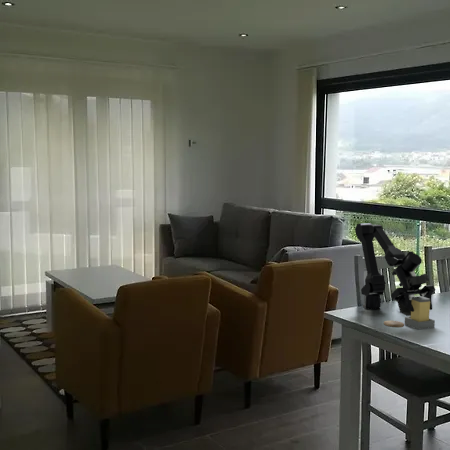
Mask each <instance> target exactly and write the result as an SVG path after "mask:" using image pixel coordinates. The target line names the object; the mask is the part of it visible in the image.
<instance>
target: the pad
mask: <svg viewBox="0 0 450 450" xmlns="http://www.w3.org/2000/svg"><path fill="white" fill-rule="evenodd" d="M383 325H385V326H386V327H387V326H388V327H391V328H402V327H404V326H405V322H404V323H403V322H401V321H397V320H384V321H383Z"/></svg>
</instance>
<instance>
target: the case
mask: <svg viewBox="0 0 450 450" xmlns="http://www.w3.org/2000/svg"><path fill="white" fill-rule="evenodd" d="M404 325H405V326H408V327H411V328H413V329H416V330H427V329H433V328H435V325H436V324H435V319H432V318H429V321H422V322H418V321H415V320H413V319H411V316H404Z"/></svg>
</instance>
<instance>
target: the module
mask: <svg viewBox="0 0 450 450" xmlns="http://www.w3.org/2000/svg"><path fill="white" fill-rule="evenodd" d="M412 306H413V308H414V312H412V311H411V319H413V320H415V321H418V322H422V321H429V319H430V311H431V310H430V299H429V298H426V297H423V296H420V295H418V296H414V297H412Z"/></svg>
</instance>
